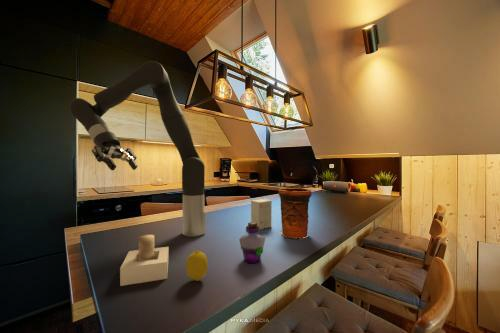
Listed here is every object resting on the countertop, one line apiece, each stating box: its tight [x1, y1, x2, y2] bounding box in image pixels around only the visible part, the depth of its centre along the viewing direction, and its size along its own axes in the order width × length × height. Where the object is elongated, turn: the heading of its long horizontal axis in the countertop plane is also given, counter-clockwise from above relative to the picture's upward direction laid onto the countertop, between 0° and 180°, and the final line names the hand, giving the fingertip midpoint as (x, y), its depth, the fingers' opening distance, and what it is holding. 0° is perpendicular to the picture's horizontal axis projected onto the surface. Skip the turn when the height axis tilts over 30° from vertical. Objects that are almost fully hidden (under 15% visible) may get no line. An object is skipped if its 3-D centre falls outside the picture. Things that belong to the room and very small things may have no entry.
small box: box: [250, 198, 272, 231], centre depth 104 cm, size 8×6×13 cm
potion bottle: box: [239, 221, 266, 265], centre depth 69 cm, size 9×9×12 cm
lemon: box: [185, 249, 209, 282], centre depth 56 cm, size 6×6×8 cm
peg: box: [138, 234, 155, 262], centre depth 61 cm, size 4×4×10 cm
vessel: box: [277, 187, 313, 240], centre depth 94 cm, size 14×14×20 cm
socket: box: [119, 246, 170, 287], centre depth 61 cm, size 11×11×4 cm
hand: (125, 168), depth 78 cm, fingers open, 8 cm apart
